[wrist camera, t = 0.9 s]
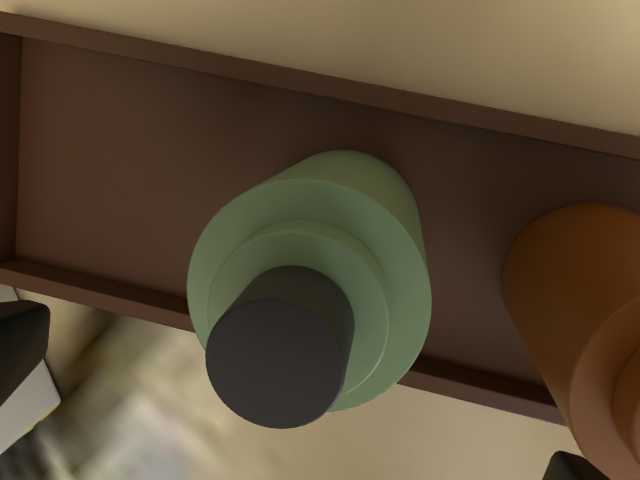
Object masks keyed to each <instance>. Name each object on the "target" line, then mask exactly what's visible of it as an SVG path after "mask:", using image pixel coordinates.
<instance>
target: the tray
mask: <svg viewBox="0 0 640 480" xmlns="http://www.w3.org/2000/svg"><path fill="white" fill-rule="evenodd" d="M338 149H341V150H355V151H360V152H364V153H367V154H370V155H372V156H375V157H377V158H379V159H381V160H382V161H384V162H386V163H387V164H388V165H390V166H391V167H392V168H393V169H395V170H396V171H397V172H398V173H399V174H400V175H401V177H402V178H403V179H404V180H405V182H406V183H407V185H408V186H409V188H410V190H411V192H412V193H413V196H414V198H415V201H416V204H417V208H418V212H419V218H420V224H421V230H422V236H423V243H424V249H425V255H426V261H427V267H428V273H429V280H430V287H431V298H432V306H431V319H430V324H429V329H428V333H427V336H426V339H425V341H424V344H423V347H422V349H421V351H420V353H419V354H418V356H417V358H416V360H415V361H414V363H413V364H412V366H411V367H410V368H409V370H408V371H407V372H406V373H405V374H404V376H403V377H402V378H401V379H400V380H399V381H398V382H397V383H396V384H400V385H404V386H408V387H412V388H416V389H420V390H424V391H428V392H432V393H436V394H440V395H444V396H448V397H452V398H456V399H460V400H464V401H468V402H472V403H476V404H480V405H484V406H488V407H492V408H496V409H500V410H504V411H507V412H511V413H515V414H519V415H523V416H527V417H531V418H535V419H539V420H543V421H547V422H551V423H555V424H559V425H563V426H567V424H566V422H565V420H564V418H563V416H562V414H561V412H560V410H559V408H558V406H557V405H556V403H555V401H554V399H553V397H552V395H551V393H550V391H549V389H548V387H547V385H546V383H545V381H544V380H543V378H542V376H541V374H540V372H539V370H538V368H537V366H536V364H535V362H534V360H533V358H532V357H531V355H530V353H529V351H528V349H527V347H526V345H525V343H524V341H523V339H522V337H521V335H520V333H519V332H518V330H517V328H516V326H515V324H514V322H513V320H512V318H511V316H510V314H509V312H508V310H507V308H506V305H505V302H504V299H503V294H502V284H501V280H502V271H503V267H504V262H505V260H506V257H507V255H508V252H509V250H510V249H511V247H512V245H513V243H514V242H515V241H516V239H517V238H518V236H519V235H520V234H521V233H522V232H523V231H524V230H525V229H526V228H527V227H528V226H529V225H530V224H532V223H533V222H534V221H535V220H537V219H538V218H540V217H542V216H543V215H545V214H547V213H549V212H551V211H553V210H555V209H558V208H561V207H564V206H567V205H572V204H576V203H585V202H600V203H607V204H613V205H616V206H620V207H623V208H625V209H628V210H630V211H632V212H635V213H637V214H639V215H640V137H638V136H633V135H628V134H623V133H618V132H613V131H608V130H603V129H598V128H593V127H588V126H582V125H577V124H572V123H567V122H562V121H557V120H552V119H547V118H542V117H537V116H532V115H526V114H521V113H516V112H511V111H506V110H501V109H496V108H491V107H486V106H481V105H476V104H471V103H465V102H460V101H455V100H450V99H445V98H440V97H435V96H430V95H425V94H420V93H415V92H410V91H404V90H399V89H394V88H389V87H384V86H379V85H374V84H369V83H364V82H359V81H354V80H349V79H343V78H338V77H333V76H328V75H323V74H318V73H313V72H308V71H303V70H298V69H293V68H287V67H282V66H277V65H272V64H267V63H262V62H257V61H252V60H247V59H242V58H237V57H232V56H226V55H221V54H216V53H211V52H206V51H201V50H196V49H191V48H186V47H181V46H176V45H171V44H165V43H160V42H155V41H150V40H145V39H140V38H135V37H130V36H125V35H120V34H115V33H110V32H104V31H99V30H94V29H89V28H84V27H79V26H74V25H69V24H64V23H59V22H54V21H48V20H43V19H38V18H33V17H28V16H23V15H18V14H13V13H8V12H3V11H0V284H3V285H7V286H11V287H15V288H19V289H23V290H27V291H31V292H35V293H39V294H43V295H47V296H51V297H55V298H59V299H63V300H67V301H71V302H75V303H79V304H83V305H87V306H91V307H95V308H99V309H103V310H106V311H110V312H114V313H118V314H122V315H126V316H130V317H134V318H138V319H142V320H146V321H150V322H154V323H158V324H162V325H166V326H170V327H174V328H178V329H182V330H186V331H190V332H194V333H196V332H195V329H194V326H193V324H192V321H191V317H190V312H189V307H188V300H187V276H188V270H189V265H190V260H191V257H192V254H193V251H194V248H195V245H196V243H197V241H198V239H199V237H200V235H201V233H202V232H203V230H204V229H205V227H206V226H207V225H208V223H209V222H210V220H211V219H212V218H213V217H214V216H215V215H216V214H217V213H218V212H219V211H220V210H221V209H222V208H223V207H224V206H225V205H227V204H228V203H229V202H230V201H232V200H233V199H234V198H236V197H238V196H239V195H241V194H243V193H244V192H246V191H248V190H250V189H252V188H253V187H255V186H257V185H259V184H261V183H263V182H264V181H266V180H268V179H270V178H272V177H273V176H275V175H277V174H279V173H281V172H283V171H284V170H286V169H288V168H290V167H292V166H294V165H295V164H297V163H299V162H301V161H303V160H305V159H306V158H308V157H310V156H313V155H315V154H318V153H321V152H325V151H330V150H338ZM567 427H568V426H567Z"/></svg>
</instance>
